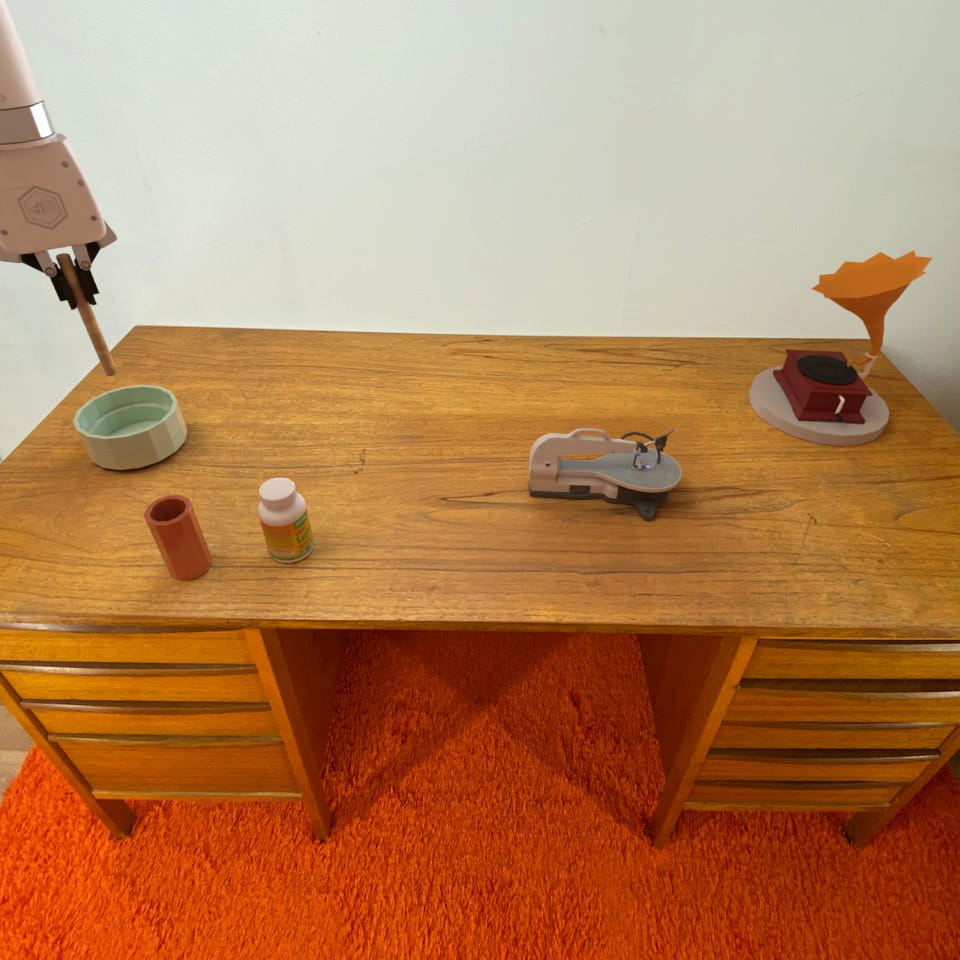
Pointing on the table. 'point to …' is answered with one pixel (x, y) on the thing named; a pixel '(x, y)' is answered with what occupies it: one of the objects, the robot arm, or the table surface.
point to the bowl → (131, 426)
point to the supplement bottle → (284, 521)
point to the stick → (86, 313)
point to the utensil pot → (178, 537)
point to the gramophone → (838, 361)
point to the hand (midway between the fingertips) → (82, 302)
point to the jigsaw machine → (604, 469)
